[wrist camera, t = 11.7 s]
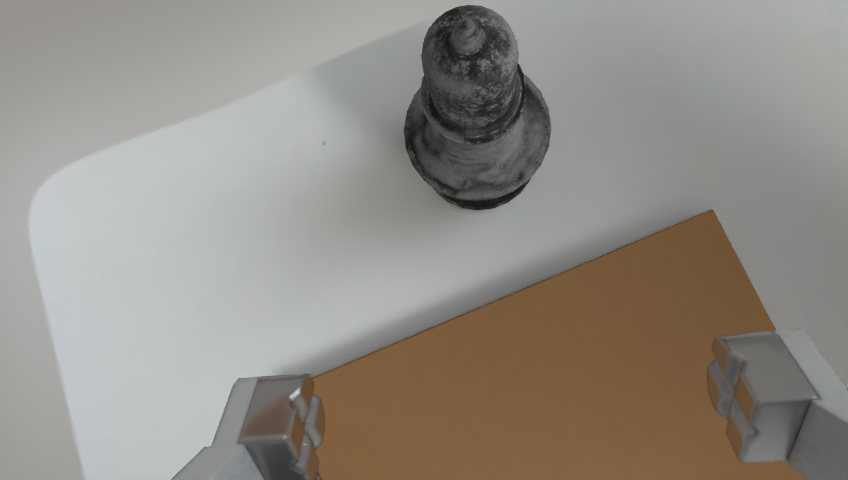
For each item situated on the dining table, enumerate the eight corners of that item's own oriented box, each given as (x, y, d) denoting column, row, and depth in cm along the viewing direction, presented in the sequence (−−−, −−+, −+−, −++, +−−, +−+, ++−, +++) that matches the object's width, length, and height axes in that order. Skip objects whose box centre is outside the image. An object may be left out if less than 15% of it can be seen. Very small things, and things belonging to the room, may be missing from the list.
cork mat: (417, 734, 24) (415, 745, 23) (292, 386, 26) (287, 388, 26) (887, 557, 22) (898, 564, 22) (708, 211, 25) (713, 208, 24)
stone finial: (432, 230, 26) (382, 159, 15) (402, 112, 27) (332, -46, 15) (558, 197, 26) (613, 95, 14) (524, 77, 27) (547, -112, 15)
